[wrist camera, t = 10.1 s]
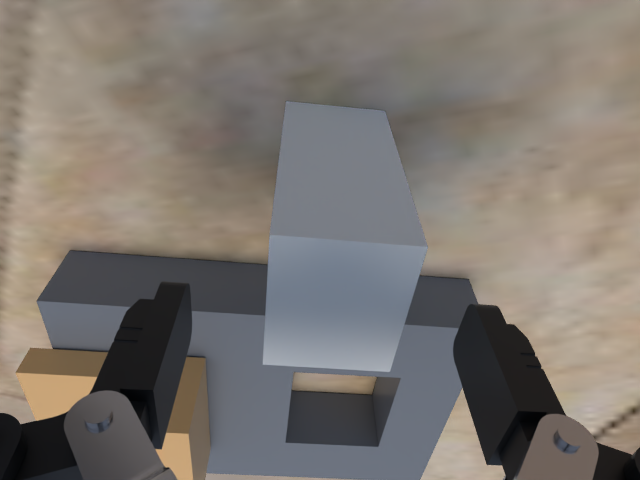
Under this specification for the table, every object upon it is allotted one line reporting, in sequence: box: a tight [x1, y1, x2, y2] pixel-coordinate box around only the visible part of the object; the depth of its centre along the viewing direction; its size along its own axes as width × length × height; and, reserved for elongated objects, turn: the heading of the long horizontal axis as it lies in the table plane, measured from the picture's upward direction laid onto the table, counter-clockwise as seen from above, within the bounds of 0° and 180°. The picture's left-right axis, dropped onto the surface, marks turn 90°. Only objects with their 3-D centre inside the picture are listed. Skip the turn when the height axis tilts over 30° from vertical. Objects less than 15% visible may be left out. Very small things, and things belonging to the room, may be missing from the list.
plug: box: [263, 101, 428, 372], centre depth 17 cm, size 5×4×9 cm
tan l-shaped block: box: [16, 348, 211, 480], centre depth 23 cm, size 8×8×4 cm
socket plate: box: [37, 251, 478, 480], centre depth 27 cm, size 14×20×4 cm
